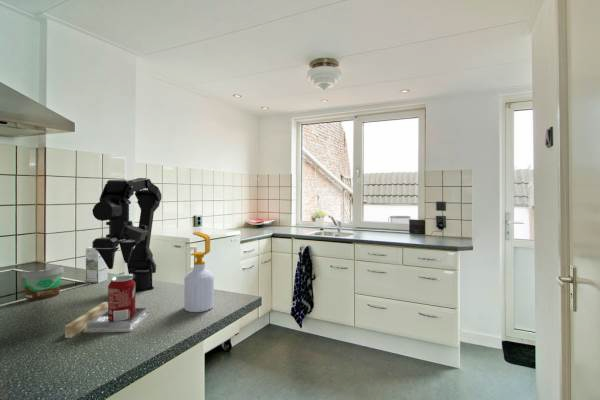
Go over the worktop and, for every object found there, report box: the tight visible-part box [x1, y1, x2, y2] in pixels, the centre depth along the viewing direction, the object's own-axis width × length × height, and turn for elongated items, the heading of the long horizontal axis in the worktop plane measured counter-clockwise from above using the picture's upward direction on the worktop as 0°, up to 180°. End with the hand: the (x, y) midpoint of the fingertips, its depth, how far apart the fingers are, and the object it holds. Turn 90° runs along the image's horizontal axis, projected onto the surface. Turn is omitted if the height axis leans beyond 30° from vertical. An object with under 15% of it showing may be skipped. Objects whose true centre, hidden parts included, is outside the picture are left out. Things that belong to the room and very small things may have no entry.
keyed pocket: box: [83, 307, 150, 334], centre depth 92 cm, size 12×12×2 cm
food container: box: [20, 264, 65, 301], centre depth 113 cm, size 12×6×10 cm, turn 148°
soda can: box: [107, 275, 136, 321], centre depth 92 cm, size 7×7×12 cm
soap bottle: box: [183, 231, 215, 313], centre depth 104 cm, size 9×9×25 cm
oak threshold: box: [64, 301, 108, 339], centre depth 91 cm, size 18×2×3 cm, turn 4°
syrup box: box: [85, 245, 108, 284], centre depth 134 cm, size 6×6×14 cm
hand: (119, 265), depth 106 cm, fingers open, 9 cm apart
